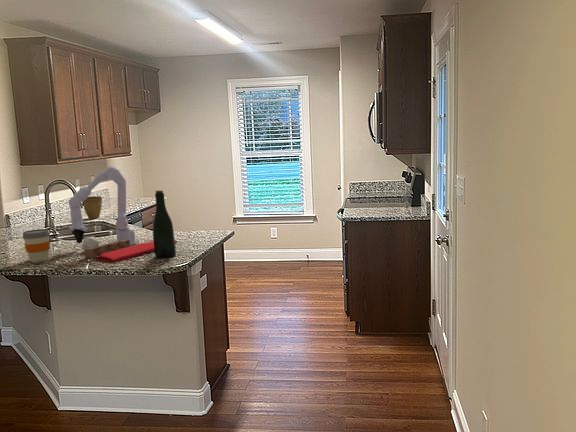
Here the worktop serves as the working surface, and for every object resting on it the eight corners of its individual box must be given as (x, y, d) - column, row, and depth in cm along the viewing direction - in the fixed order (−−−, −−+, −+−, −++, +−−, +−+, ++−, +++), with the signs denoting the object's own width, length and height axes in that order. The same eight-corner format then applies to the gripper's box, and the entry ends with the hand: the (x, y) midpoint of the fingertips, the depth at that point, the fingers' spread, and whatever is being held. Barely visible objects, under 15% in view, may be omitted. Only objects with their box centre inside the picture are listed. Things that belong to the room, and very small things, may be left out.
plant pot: (79, 220, 420) (77, 199, 418) (92, 216, 434) (89, 196, 432) (96, 220, 416) (93, 198, 413) (108, 216, 430) (106, 196, 427)
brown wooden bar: (126, 247, 306) (125, 239, 305) (130, 248, 304) (129, 239, 303) (85, 258, 285) (84, 249, 284) (88, 258, 283) (87, 250, 283)
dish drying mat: (94, 260, 281) (93, 253, 280) (159, 244, 312) (158, 237, 312) (112, 263, 271) (112, 256, 270) (178, 246, 302) (177, 239, 302)
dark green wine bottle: (180, 255, 279) (174, 189, 273) (162, 259, 271) (155, 192, 266) (168, 252, 286) (162, 188, 281) (150, 256, 279) (144, 191, 274)
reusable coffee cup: (22, 260, 289) (18, 232, 286) (46, 255, 297) (43, 228, 295) (31, 263, 280) (27, 234, 277) (56, 258, 288) (52, 230, 286)
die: (98, 250, 308) (85, 237, 306) (105, 243, 302) (92, 230, 301) (88, 258, 301) (75, 245, 300) (95, 252, 296) (82, 238, 294)
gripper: (62, 219, 306) (65, 243, 308) (78, 220, 297) (81, 245, 299) (74, 217, 311) (76, 240, 313) (89, 218, 303) (92, 242, 305)
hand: (79, 243), depth 307 cm, fingers closed
